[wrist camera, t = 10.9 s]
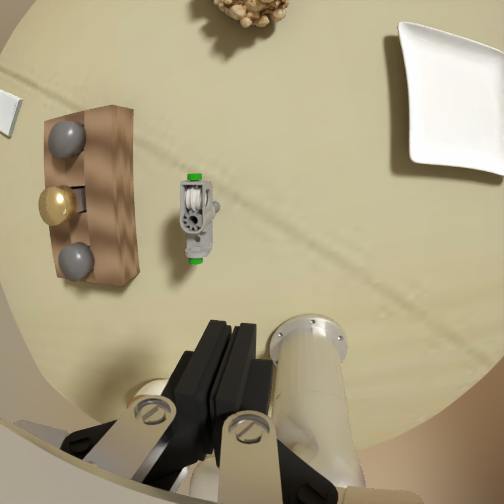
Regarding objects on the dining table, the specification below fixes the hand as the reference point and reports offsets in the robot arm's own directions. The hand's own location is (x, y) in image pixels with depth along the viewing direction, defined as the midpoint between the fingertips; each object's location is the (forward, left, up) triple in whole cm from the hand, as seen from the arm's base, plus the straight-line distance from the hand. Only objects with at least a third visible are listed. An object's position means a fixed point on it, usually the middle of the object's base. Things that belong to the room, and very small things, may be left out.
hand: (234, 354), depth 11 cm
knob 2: (-7, +29, -31) cm, 43 cm away
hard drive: (+22, +58, -33) cm, 70 cm away
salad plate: (+19, -27, -33) cm, 46 cm away
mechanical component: (0, +9, -32) cm, 34 cm away
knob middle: (+2, +29, -28) cm, 40 cm away
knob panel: (+2, +29, -32) cm, 43 cm away
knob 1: (+11, +29, -31) cm, 44 cm away
